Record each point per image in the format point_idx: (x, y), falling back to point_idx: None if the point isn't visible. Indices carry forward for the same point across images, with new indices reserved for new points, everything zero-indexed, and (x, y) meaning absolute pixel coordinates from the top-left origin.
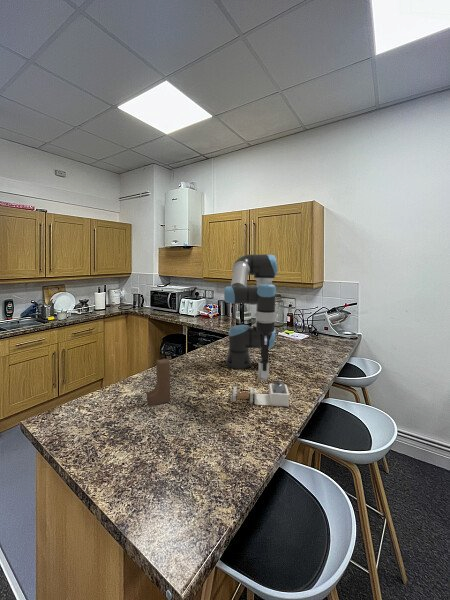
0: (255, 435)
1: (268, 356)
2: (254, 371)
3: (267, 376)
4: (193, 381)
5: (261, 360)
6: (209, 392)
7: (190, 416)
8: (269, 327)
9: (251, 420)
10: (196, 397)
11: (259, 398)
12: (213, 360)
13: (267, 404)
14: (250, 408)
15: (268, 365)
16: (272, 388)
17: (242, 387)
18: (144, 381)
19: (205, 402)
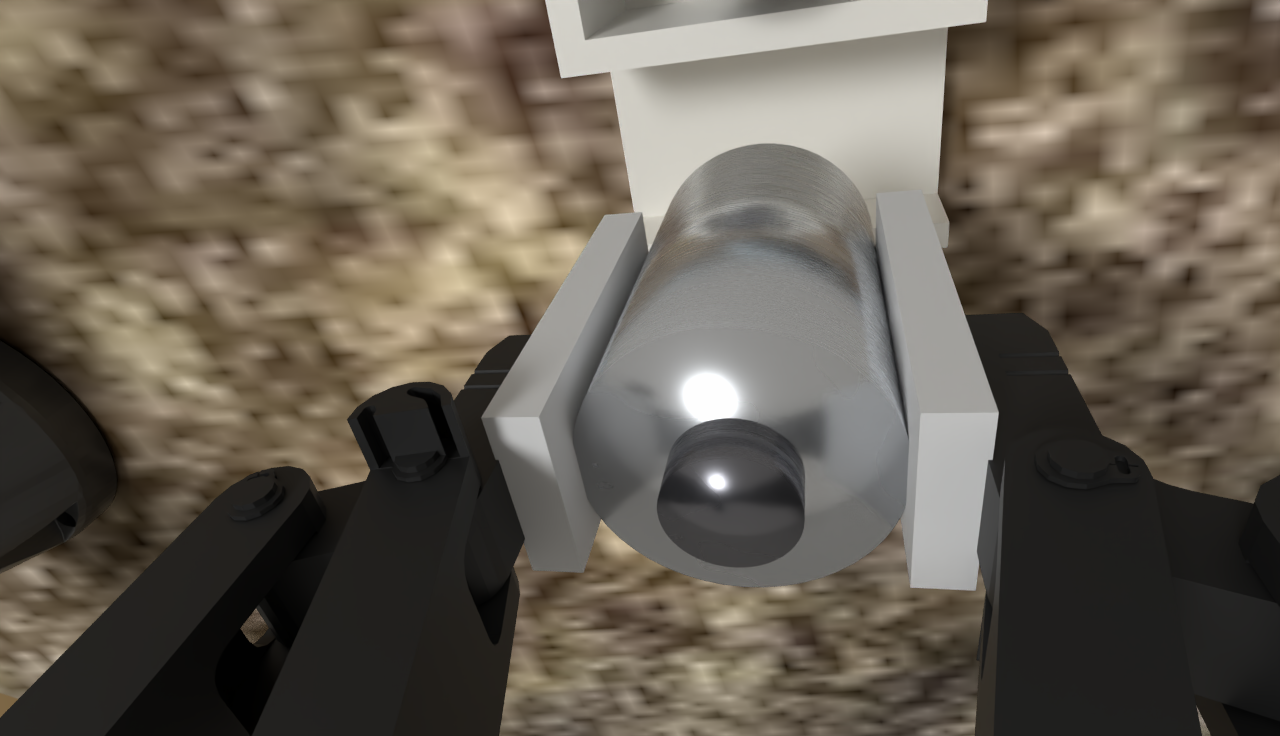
0: None
1: (391, 412)
2: (28, 263)
3: (835, 192)
4: (524, 685)
5: (592, 517)
6: (675, 589)
7: None
8: None
9: (1252, 211)
10: (786, 655)
11: None
12: (80, 600)
13: (931, 44)
14: (949, 243)
15: (818, 306)
16: (599, 6)
17: (473, 355)
18: None
19: (863, 602)
